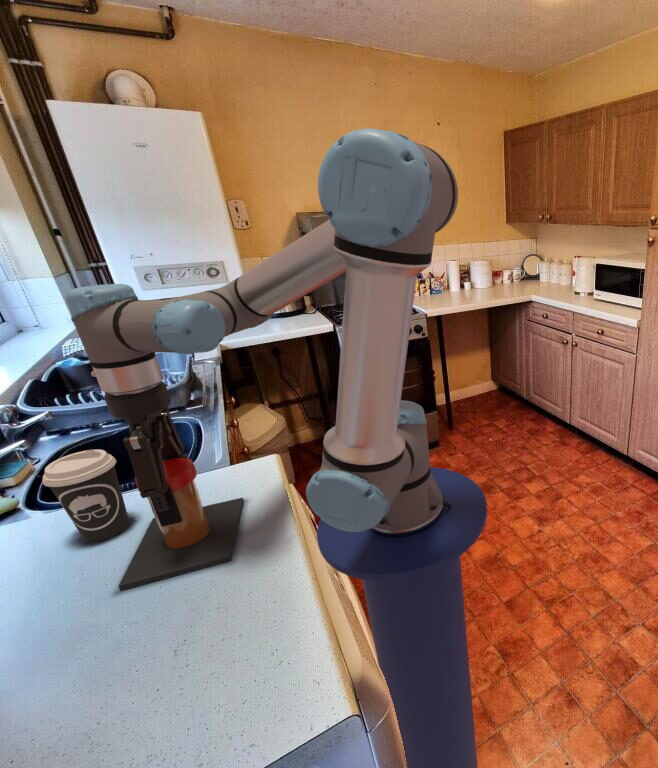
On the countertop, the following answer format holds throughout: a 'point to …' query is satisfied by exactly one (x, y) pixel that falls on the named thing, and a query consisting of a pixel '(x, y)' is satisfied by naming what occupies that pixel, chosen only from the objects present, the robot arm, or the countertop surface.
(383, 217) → the robot arm
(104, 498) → the coffee cup
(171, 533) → the jar
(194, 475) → the lid
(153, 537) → the mat
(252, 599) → the countertop surface
